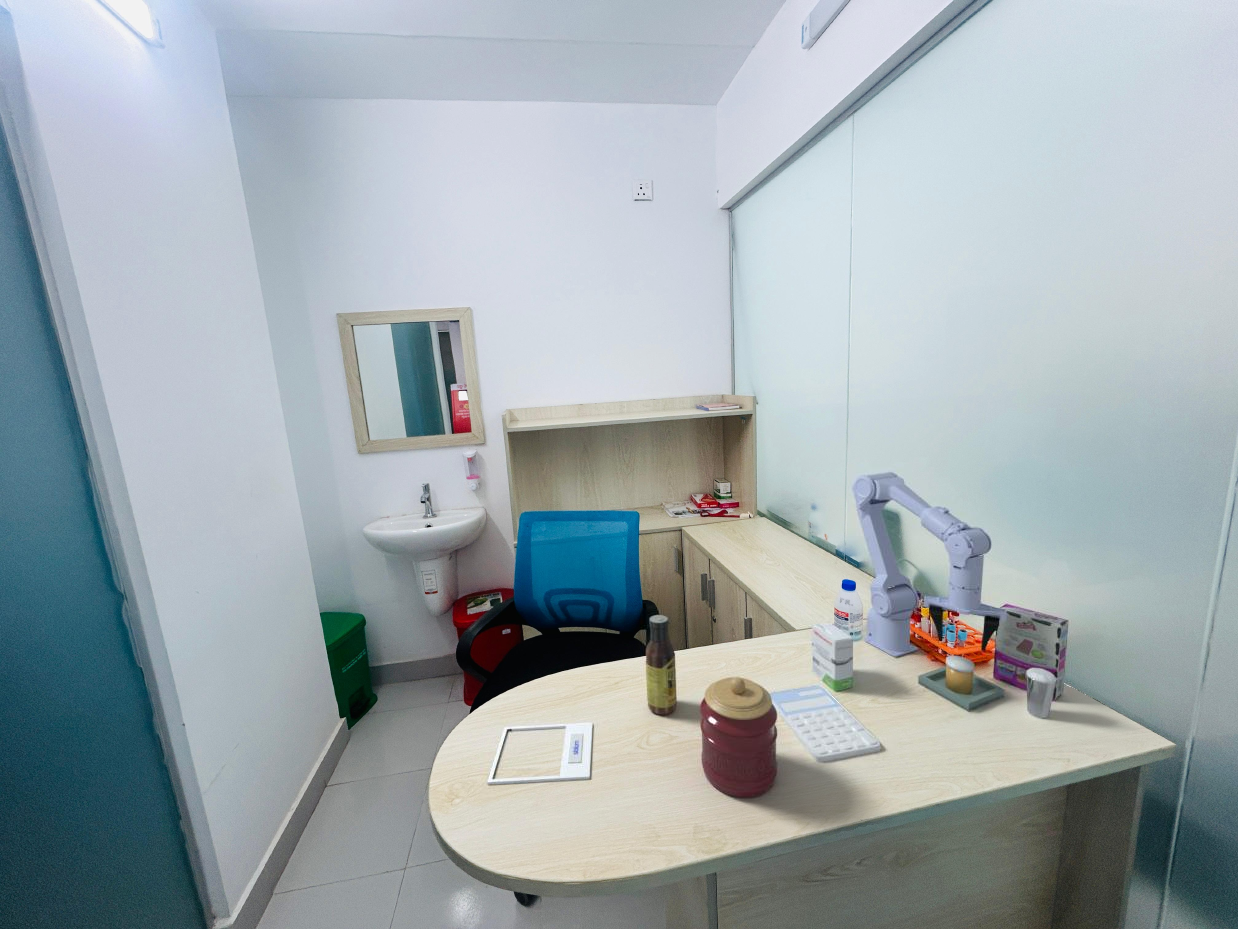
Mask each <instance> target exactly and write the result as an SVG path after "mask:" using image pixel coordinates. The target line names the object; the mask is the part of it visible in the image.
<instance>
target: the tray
mask: <svg viewBox="0 0 1238 929" xmlns="http://www.w3.org/2000/svg"><path fill="white" fill-rule="evenodd" d="M917 678H918V679H917V681H918V682H917V684H918V685H920V686H922V687H924V688H925V689H927V690H929V691H930V692H933V693H934V694H936V695H938V696H940V697H942V698H944V700H945V699H946V700H947V701H949V702H951V703H952V704H954V705H955V706H957V707H960V708H961V709H963V710H965V712H966V711H967V712H971V711H973V710H976V709H978V708H982V707H983V706H986V705H988V704H990V703H994V702H995V701H997V700H1000V699H1003V698H1004V697H1005V688H1003V687H1000V686H999V685H997V684H995V683H992V682H991V681H989V680H987V679H984V678H983V677H980V676H978V675H976V674H975V673H973V685H972V693H971V694H967V695H963V694H958V693H955V692H953V691H951V690H949V689H947V688H946V686H945V680H946V665H945V666H942V667H939V668H936V669H933V670H931V671H928V672H925V673H922V674H920V675H917Z"/></svg>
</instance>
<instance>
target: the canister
mask: <svg viewBox="0 0 1238 929" xmlns="http://www.w3.org/2000/svg"><path fill="white" fill-rule="evenodd" d="M769 693H770V692H769V691H768V690H767V689H766V688H764V687H763V686H762V685H760V684H759V683H757V682H754V681H753V680H750V679H747V678H744V677H740V676H739V677H738V676H736V677H735V676H733V677H726V678H722V679H719V680H717V681H714V682H713V683H711V684H709V685H708V687H706V690H705V692H704V697H703V699H702V700H701V702H700V706H699V709H700V710H699V711H700V714H701V716H702V718H701V721H700V732H701V748H702V751H701V765H702V768H703V772H704V776H705V778H706V780H707V781H708V782H709V783H710V784H711V785H712V786H713V787H714V788H716V789H717V790H719V792H722V793H724V794H726V795H729V796H731V797H732V796H733V797H735V798H736V797H737V798H742V799H743V798H746V799H747V798H748V799H749V798H754V797H759V796H762V795H763V794H765V793H767V792H768V791H770V790H771V788H772V787H773V786H774V784H775V782H776V777H777V774H778V760H777V739H778V729H777V726H776V723H777V721H778V713H777V711H776V708H775V707H774V705H773V704H772V699H771V696H770V694H769Z"/></svg>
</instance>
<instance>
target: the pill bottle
mask: <svg viewBox="0 0 1238 929" xmlns="http://www.w3.org/2000/svg"><path fill="white" fill-rule="evenodd" d="M945 666H946V680H945V686H946V688H947V689H949V690H951V691H953V692H955V693H958V694H963V695H967V694H971V693H972V685H973V674H974V672H975V671H974V670H975V663H974V662H973V661H972V660H970V659H968V658H966V657H963V656H959V655H949V656H946V659H945Z"/></svg>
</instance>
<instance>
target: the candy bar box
mask: <svg viewBox="0 0 1238 929" xmlns="http://www.w3.org/2000/svg"><path fill="white" fill-rule="evenodd" d="M999 608H1000V609H1005V610H1006V611H1007V617H1006V622H1003V621H1000V620H999V627H998V629H997V630H996V631H995V640H994V657H993V669H992V670H993V675H992V677H993V678H994V679H995V680H999V681H1001V682H1003V683H1005V684H1008V685H1011V686H1014V687H1016V688H1019V689H1021V690H1024V691H1027V678H1026V671H1027V670H1028V669H1030V668H1041V669H1044V670H1046V671H1049V672H1051V673H1052V674H1053V675H1054V676H1055V677H1056V678H1057V677H1058V676H1059V675H1060V673H1061V672H1062V671H1063V673H1062V674H1061V675H1060V676H1059V677H1058V679H1057V680H1056V684H1055V689H1054V693H1053V698H1052V702H1053V701H1054V702H1055V701H1057V699H1058V698H1060V696H1062V695H1063V693H1064V686H1065V672H1066V671H1065V670H1066V658H1067V645H1068V633H1069V620H1068V619H1065V618H1061V617H1058V616H1054V615H1050V614H1046V613H1043V612H1039V611H1035V610H1031V609H1028V608H1024V607H1021V606H1017V605H1012V604H1008V603H1004V604H1003V605H1001V606H1000V607H999Z"/></svg>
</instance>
